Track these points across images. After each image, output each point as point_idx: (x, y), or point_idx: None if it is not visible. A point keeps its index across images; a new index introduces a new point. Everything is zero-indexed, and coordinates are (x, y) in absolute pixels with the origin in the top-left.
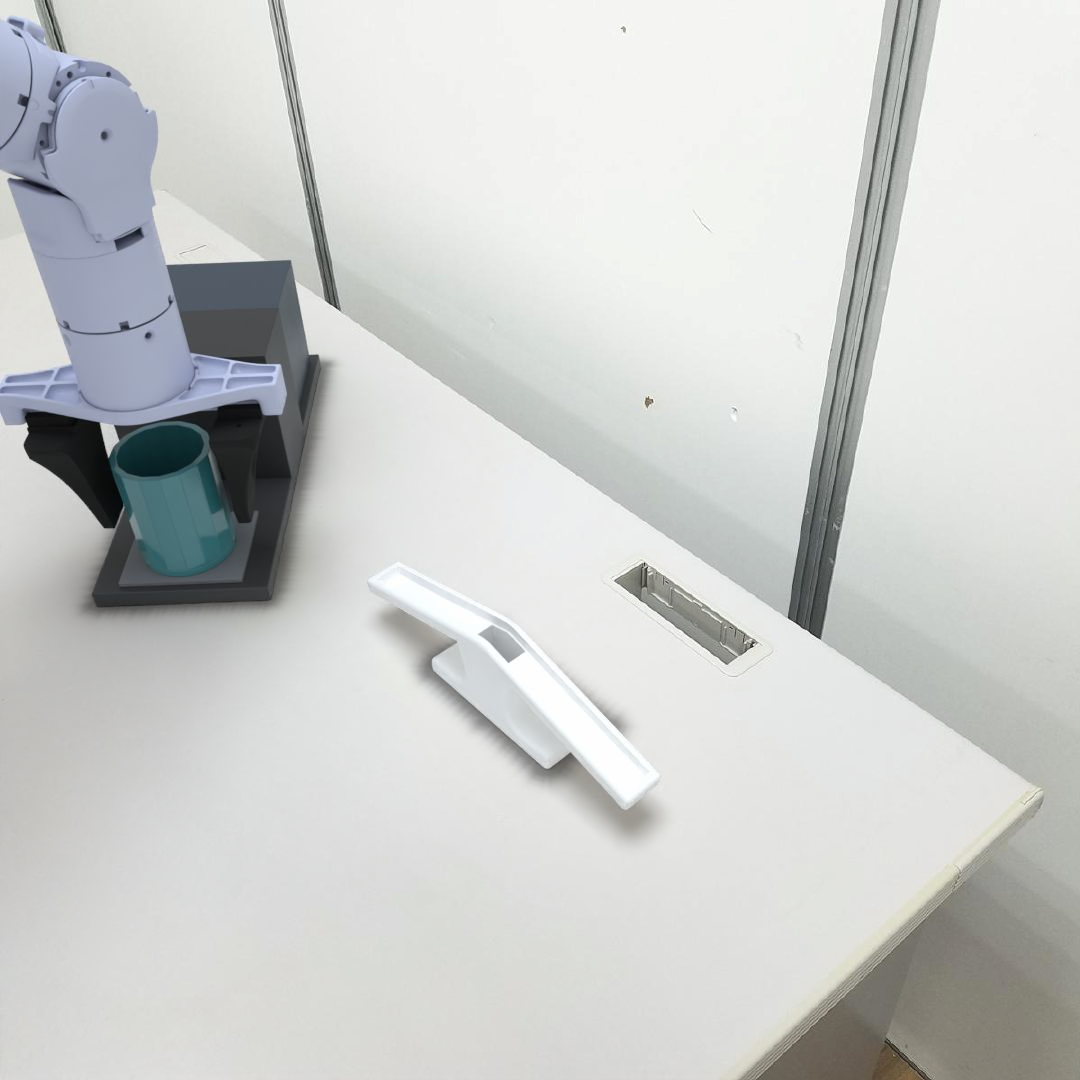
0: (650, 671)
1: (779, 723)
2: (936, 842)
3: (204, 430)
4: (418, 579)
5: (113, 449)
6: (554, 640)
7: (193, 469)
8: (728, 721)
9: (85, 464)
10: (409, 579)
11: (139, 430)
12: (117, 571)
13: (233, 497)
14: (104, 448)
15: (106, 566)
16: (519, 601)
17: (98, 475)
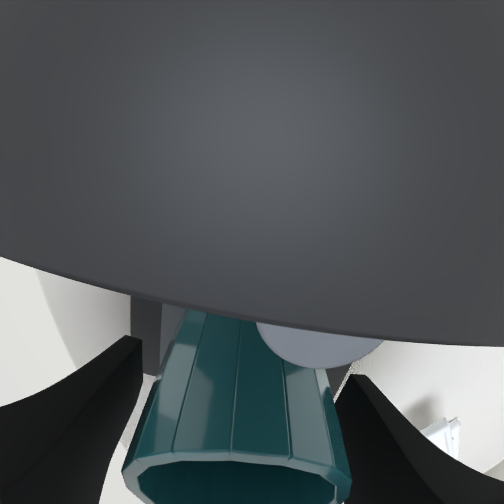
0: (491, 429)
1: (499, 443)
2: (489, 467)
3: (347, 480)
4: (447, 447)
5: (126, 479)
6: (477, 419)
7: None
8: (489, 445)
9: (94, 489)
10: (443, 436)
11: (167, 459)
12: (151, 346)
13: None
14: (87, 412)
15: (135, 335)
16: (485, 394)
17: (105, 436)
